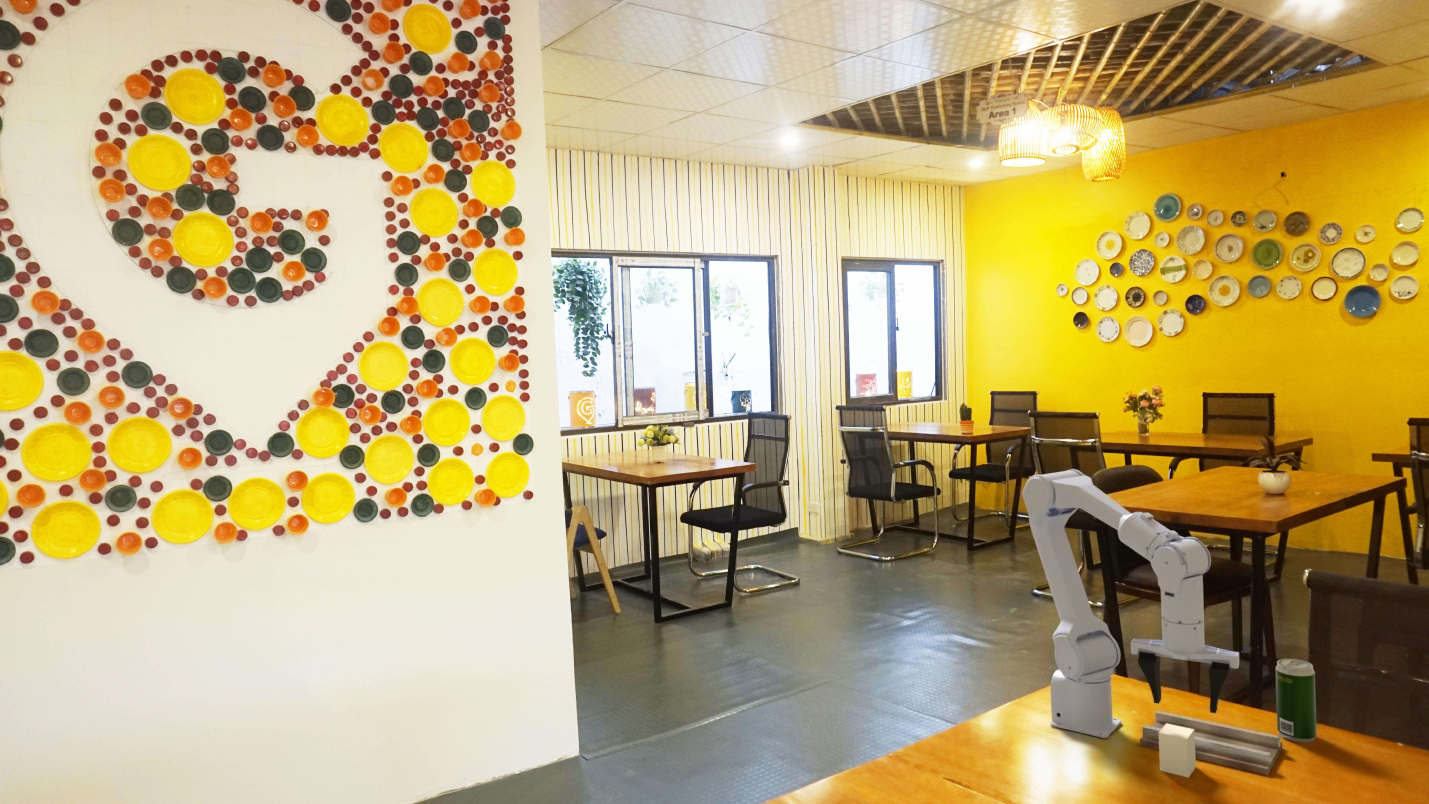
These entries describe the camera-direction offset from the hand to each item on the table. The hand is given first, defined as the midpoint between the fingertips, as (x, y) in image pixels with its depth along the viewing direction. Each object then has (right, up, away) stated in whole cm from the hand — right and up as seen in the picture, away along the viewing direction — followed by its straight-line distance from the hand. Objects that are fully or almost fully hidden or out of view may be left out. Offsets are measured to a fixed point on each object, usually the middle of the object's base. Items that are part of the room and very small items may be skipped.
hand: (1185, 705), depth 136 cm
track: (+8, -9, +7) cm, 14 cm away
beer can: (+23, -8, +9) cm, 26 cm away
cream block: (-1, -10, +1) cm, 10 cm away
